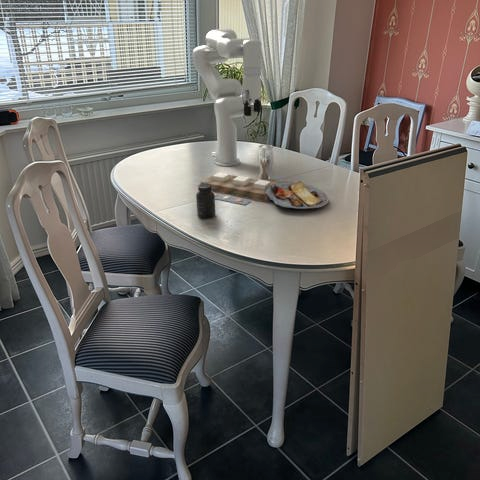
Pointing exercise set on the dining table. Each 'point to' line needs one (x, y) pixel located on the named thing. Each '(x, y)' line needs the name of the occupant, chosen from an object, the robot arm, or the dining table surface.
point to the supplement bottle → (205, 201)
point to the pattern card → (231, 199)
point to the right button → (262, 184)
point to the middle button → (241, 181)
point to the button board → (238, 188)
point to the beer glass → (266, 161)
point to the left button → (221, 177)
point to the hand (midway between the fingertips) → (252, 113)
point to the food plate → (296, 195)
